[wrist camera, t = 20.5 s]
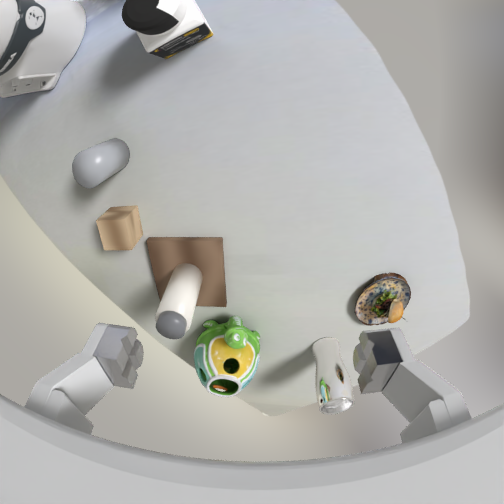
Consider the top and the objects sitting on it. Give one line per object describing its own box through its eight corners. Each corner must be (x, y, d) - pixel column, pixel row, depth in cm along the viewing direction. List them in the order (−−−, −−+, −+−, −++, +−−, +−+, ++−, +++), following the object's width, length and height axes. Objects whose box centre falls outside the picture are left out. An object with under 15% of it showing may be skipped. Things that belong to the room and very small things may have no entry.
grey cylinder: (103, 172, 37) (76, 189, 30) (99, 140, 34) (69, 153, 28) (131, 169, 37) (106, 186, 30) (127, 136, 34) (100, 147, 27)
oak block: (117, 234, 43) (104, 250, 38) (110, 207, 40) (96, 220, 36) (143, 234, 43) (131, 250, 38) (137, 205, 40) (124, 219, 36)
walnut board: (162, 299, 49) (161, 303, 48) (148, 237, 43) (146, 241, 42) (226, 302, 49) (226, 306, 48) (222, 237, 43) (221, 241, 42)
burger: (367, 267, 45) (382, 294, 39) (417, 276, 46) (434, 301, 40) (342, 317, 51) (351, 346, 45) (390, 322, 52) (402, 348, 46)
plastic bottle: (175, 287, 46) (157, 340, 36) (170, 262, 44) (148, 314, 33) (204, 288, 46) (191, 342, 36) (201, 263, 44) (185, 316, 33)
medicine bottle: (166, 60, 29) (127, 47, 19) (146, 23, 26) (105, 1, 15) (214, 35, 27) (195, 9, 17) (193, -2, 24) (167, -36, 14)
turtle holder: (276, 305, 50) (279, 358, 39) (249, 362, 59) (247, 408, 48) (207, 290, 48) (196, 342, 38) (194, 351, 57) (184, 397, 47)
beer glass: (317, 333, 53) (329, 397, 40) (347, 337, 54) (363, 397, 41) (304, 354, 57) (311, 414, 44) (332, 357, 57) (344, 415, 45)
